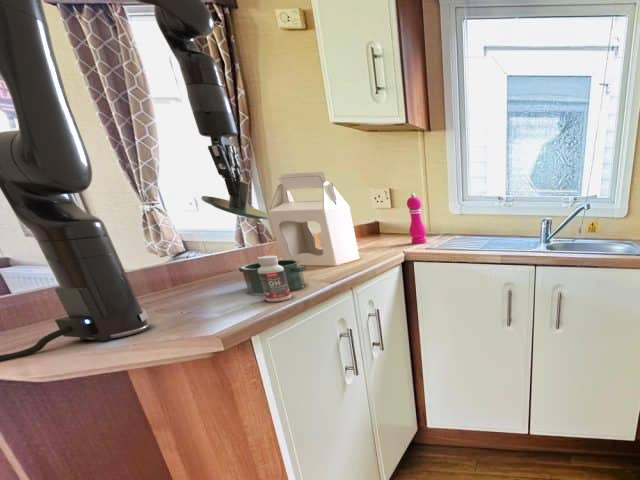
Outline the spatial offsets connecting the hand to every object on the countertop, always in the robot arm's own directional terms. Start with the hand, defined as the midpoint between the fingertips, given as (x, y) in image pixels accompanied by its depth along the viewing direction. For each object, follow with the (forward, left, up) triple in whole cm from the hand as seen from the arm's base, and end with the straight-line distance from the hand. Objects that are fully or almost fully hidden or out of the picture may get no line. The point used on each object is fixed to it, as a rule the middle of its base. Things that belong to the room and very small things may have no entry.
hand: (237, 195), depth 101 cm
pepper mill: (+86, -4, -23) cm, 89 cm away
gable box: (+39, +11, -23) cm, 47 cm away
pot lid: (0, +1, -3) cm, 3 cm away
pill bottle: (-10, -13, -23) cm, 28 cm away
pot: (0, -4, -23) cm, 23 cm away
